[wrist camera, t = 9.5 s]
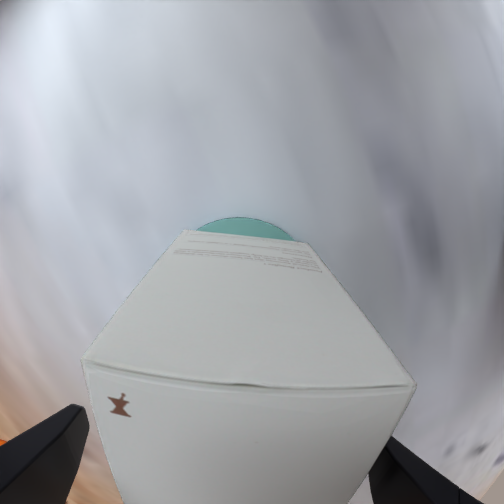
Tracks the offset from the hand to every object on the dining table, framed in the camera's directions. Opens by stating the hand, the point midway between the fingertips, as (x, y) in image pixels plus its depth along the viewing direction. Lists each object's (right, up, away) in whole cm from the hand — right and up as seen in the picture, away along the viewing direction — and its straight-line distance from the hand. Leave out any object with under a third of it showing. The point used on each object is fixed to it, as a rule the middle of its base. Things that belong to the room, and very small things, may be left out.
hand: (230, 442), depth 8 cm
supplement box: (0, +3, +11) cm, 11 cm away
